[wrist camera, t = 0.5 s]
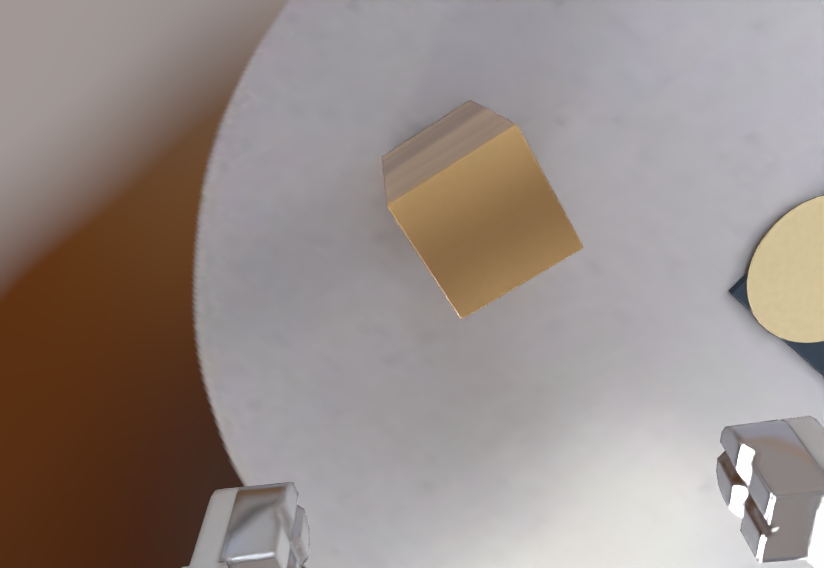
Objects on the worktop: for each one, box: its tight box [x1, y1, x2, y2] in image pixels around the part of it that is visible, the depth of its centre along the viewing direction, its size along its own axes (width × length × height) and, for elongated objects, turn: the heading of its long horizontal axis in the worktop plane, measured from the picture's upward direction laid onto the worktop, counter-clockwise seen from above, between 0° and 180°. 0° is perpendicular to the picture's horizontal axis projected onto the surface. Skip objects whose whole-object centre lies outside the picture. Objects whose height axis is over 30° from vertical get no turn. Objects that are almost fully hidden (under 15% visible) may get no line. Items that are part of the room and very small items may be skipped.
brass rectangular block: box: [382, 100, 583, 319], centre depth 26 cm, size 5×5×10 cm
